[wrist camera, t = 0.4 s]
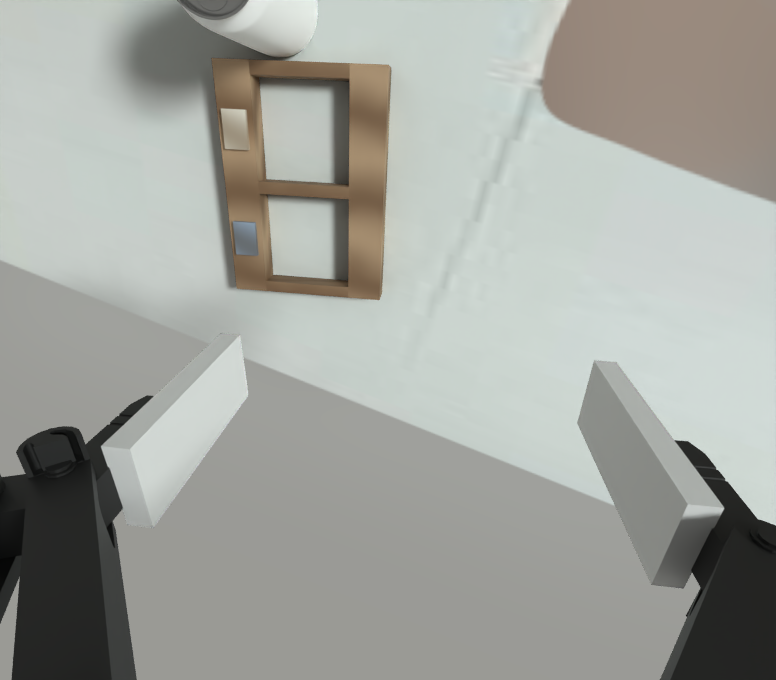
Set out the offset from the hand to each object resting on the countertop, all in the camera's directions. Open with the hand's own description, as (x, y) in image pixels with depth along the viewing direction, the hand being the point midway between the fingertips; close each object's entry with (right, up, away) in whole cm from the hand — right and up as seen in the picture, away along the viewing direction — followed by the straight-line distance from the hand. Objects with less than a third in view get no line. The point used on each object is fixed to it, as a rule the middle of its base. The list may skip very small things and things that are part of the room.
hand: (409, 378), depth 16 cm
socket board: (-8, +15, +23) cm, 29 cm away
